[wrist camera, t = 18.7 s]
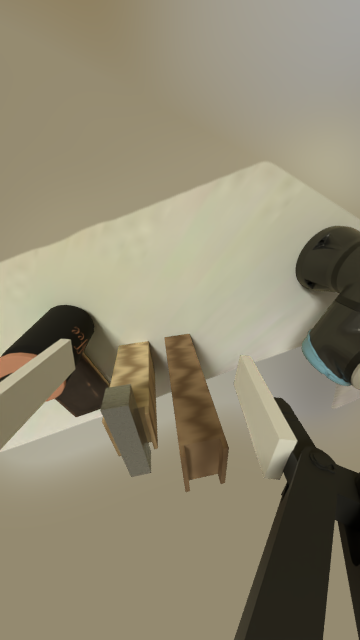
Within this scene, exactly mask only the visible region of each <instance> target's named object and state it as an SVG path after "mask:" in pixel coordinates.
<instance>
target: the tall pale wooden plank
mask: <svg viewBox="0 0 360 640" xmlns="http://www.w3.org/2000/svg"><path fill="white" fill-rule="evenodd" d="M127 384H131V387H132V390H133V394H134V397H135V400H136V404H137V407H138V410H139V414H140V417H141V420H142V424H143V427H144V430H145V434H146V437H147V440H148V443H149V442H152V443H153V446H154V449H157V448H158V439H157V416H156V391H155V372H154V367H153V362H152V357H151V352H150V347H149V342H141V343H134V344H128V345H121V346H119V348H118V352H117V357H116V361H115V366H114V370H113V375H112V379H111V384H110V387H115V386H121V385H127ZM102 423H103V425H104V427H105V429H106V431H107V433H108V435H109V437H110V439H111V441H112V443H113V445H114V447H115V449H116V451H117V453H118V455H119V456H121V454H120V451H119V449H118V447H117V445H116V443H115V441H114V439H113V436H112V434H111V432H110V430H109V428H108V426H107V423H106V421H105V419H104V417H103V420H102Z"/></svg>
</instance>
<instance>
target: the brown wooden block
mask: <svg viewBox="0 0 360 640" xmlns="http://www.w3.org/2000/svg"><path fill="white" fill-rule="evenodd" d="M165 345H166V353H167V360H168V368H169V375H170V383H171V390H172V397H173V405H174V413H175V420H176V428H177V435H178V442H179V450H180V457H181V464H182V471H183V478H184V484H185V491H186V492H188V491H190V487H189V480H192V479H196V478H201V477H205V476H210V475H214V474H218V476H219V479H220V483H221V484H223V483H225V478H226V469H227V459H228V450H229V447H228V444H227V441H226V438H225V436H224V433H223V430H222V427H221V424H220V421H219V418H218V415H217V412H216V409H215V407H214V404H213V401H212V398H211V395H210V392H209V389H208V386H207V383H206V380H205V378H204V375H203V372H202V369H201V366H200V363H199V360H198V357H197V355H196V352H195V349H194V346H193V343H192V340H191V337H190V334H185V335H178V336H171V337H165Z"/></svg>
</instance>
